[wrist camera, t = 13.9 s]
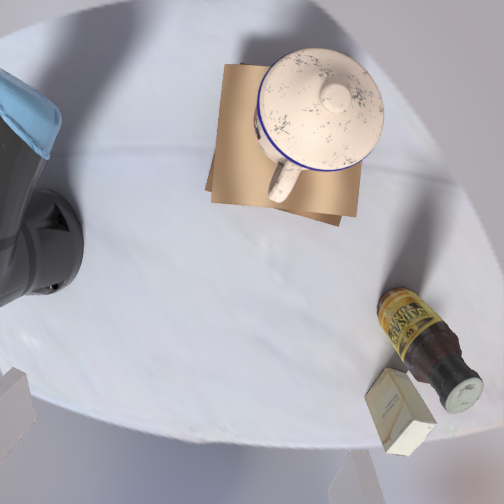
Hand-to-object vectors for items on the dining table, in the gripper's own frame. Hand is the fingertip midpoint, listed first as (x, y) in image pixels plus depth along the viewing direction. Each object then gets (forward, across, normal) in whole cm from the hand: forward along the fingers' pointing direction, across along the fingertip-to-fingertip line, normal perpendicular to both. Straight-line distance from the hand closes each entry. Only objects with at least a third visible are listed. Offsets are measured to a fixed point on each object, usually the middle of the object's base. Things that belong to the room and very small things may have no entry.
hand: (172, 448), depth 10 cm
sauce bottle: (+30, +22, -2) cm, 37 cm away
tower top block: (+26, +3, +15) cm, 30 cm away
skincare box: (+30, +25, -15) cm, 41 cm away
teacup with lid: (+22, +3, +14) cm, 27 cm away
